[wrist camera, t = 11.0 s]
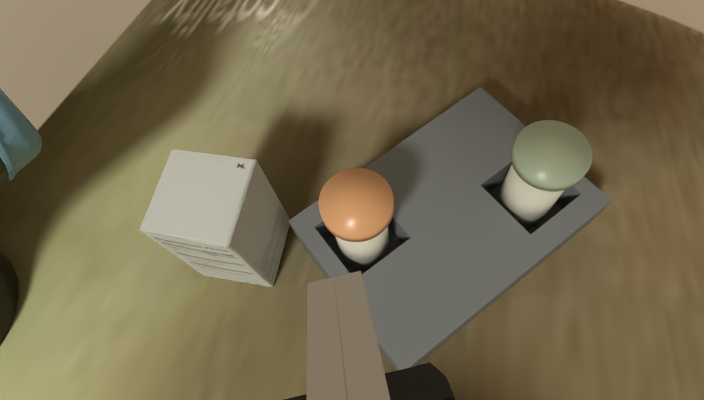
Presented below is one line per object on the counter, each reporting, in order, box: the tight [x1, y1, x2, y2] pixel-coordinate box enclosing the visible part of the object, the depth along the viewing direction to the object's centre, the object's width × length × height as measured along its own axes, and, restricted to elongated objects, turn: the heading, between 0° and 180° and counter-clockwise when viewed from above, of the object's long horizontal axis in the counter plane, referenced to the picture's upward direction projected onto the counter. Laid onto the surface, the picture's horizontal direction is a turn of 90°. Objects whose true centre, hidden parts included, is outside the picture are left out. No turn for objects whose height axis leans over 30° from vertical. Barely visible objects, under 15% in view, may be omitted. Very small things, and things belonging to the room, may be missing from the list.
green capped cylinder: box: [496, 120, 593, 229], centre depth 39 cm, size 6×6×10 cm
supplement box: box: [139, 149, 290, 287], centre depth 40 cm, size 7×7×13 cm
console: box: [289, 87, 612, 371], centre depth 42 cm, size 16×23×5 cm
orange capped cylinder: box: [319, 168, 394, 270], centre depth 38 cm, size 6×6×10 cm
